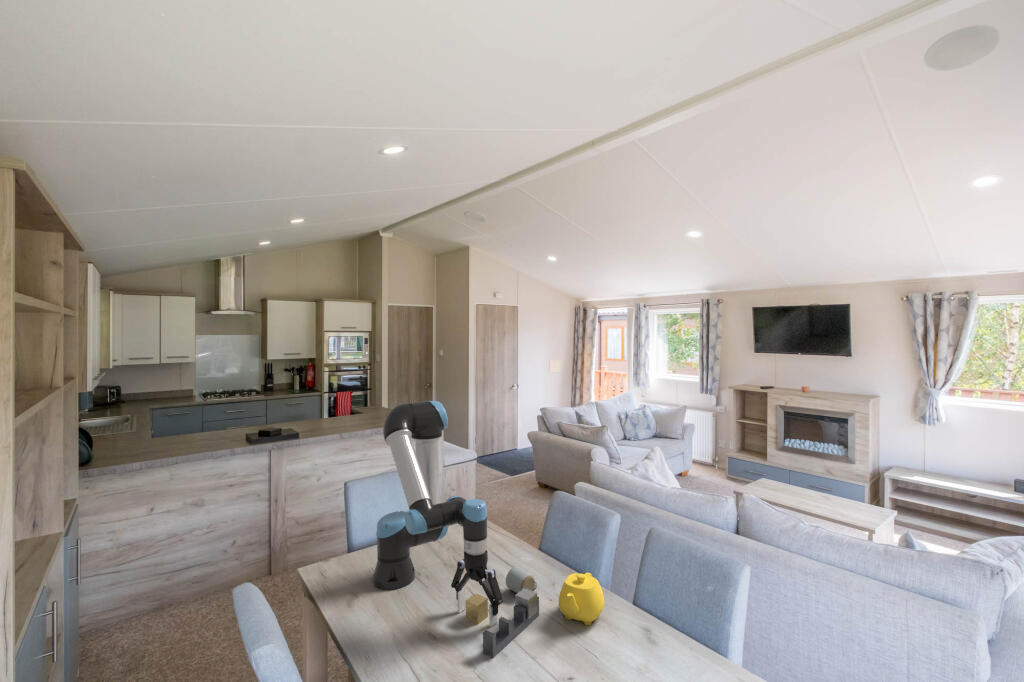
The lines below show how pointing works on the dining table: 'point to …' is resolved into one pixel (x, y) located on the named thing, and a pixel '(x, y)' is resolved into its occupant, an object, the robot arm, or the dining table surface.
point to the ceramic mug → (520, 580)
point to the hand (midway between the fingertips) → (477, 617)
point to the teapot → (581, 598)
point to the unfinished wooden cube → (476, 608)
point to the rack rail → (507, 631)
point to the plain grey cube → (527, 601)
